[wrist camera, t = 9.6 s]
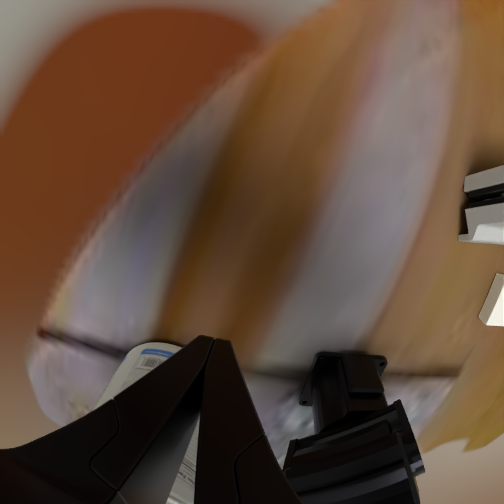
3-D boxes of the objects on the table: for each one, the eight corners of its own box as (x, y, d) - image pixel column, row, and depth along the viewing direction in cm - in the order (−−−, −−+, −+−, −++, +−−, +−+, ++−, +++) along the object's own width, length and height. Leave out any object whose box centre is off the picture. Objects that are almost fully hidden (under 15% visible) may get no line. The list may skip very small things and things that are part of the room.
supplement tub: (171, 416, 26) (132, 529, 13) (109, 356, 24) (35, 470, 10) (244, 393, 24) (223, 541, 10) (176, 320, 22) (94, 483, 8)
